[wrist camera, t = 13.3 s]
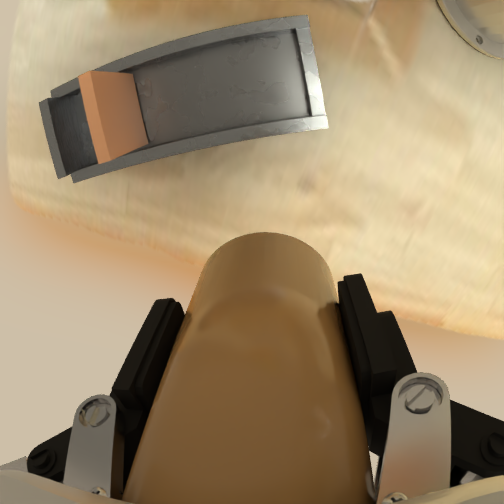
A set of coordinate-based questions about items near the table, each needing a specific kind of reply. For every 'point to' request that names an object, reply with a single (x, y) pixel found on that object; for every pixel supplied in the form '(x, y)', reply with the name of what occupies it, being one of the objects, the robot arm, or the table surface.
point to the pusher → (112, 113)
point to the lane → (200, 95)
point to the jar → (257, 389)
